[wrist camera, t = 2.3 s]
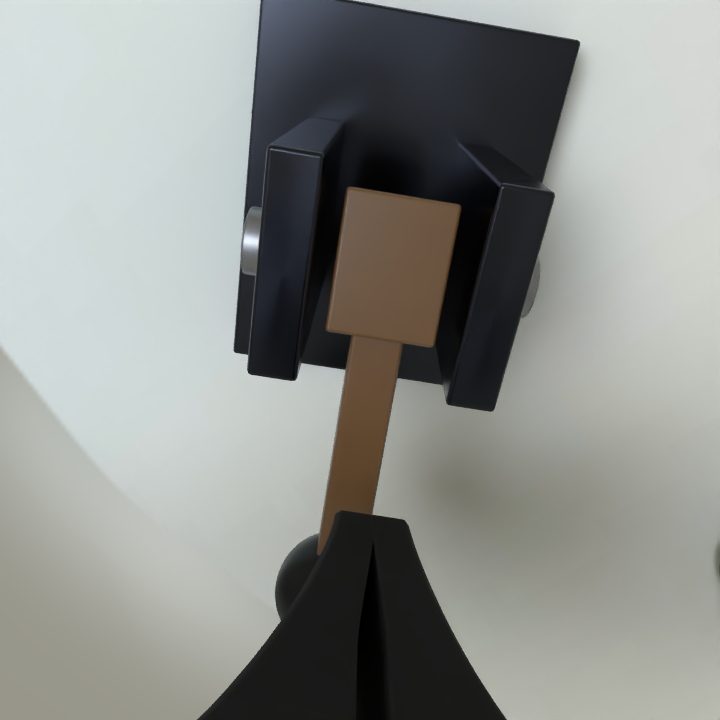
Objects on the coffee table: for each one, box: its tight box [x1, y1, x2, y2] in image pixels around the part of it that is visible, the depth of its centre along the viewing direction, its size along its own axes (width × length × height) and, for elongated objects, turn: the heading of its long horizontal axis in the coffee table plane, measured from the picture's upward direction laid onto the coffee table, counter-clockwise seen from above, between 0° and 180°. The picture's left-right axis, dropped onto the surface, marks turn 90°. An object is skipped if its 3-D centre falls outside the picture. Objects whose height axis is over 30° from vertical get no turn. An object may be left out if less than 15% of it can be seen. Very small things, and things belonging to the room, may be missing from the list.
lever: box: [275, 186, 462, 620], centre depth 14 cm, size 11×3×3 cm, turn 171°
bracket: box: [234, 0, 580, 412], centre depth 15 cm, size 10×8×8 cm
